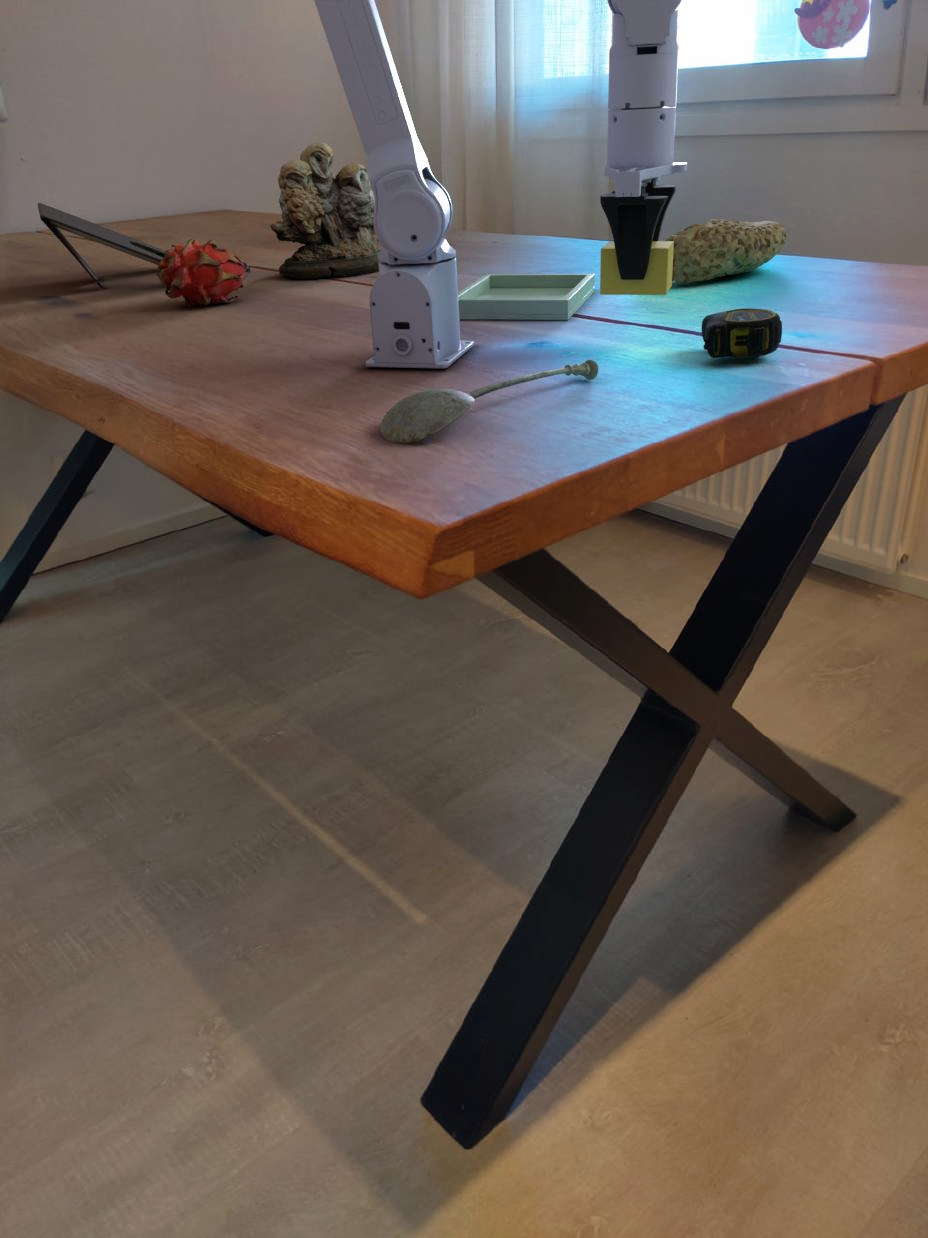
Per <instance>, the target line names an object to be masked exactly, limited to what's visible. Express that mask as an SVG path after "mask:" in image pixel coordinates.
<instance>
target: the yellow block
mask: <svg viewBox="0 0 928 1238" xmlns="http://www.w3.org/2000/svg"><path fill="white" fill-rule="evenodd" d="M673 249H674V241H660V240H659V241H652V247H651V253H650V259H649V264H648V268H647V272H646V275H645V278H644V280H621V277H620V274H619V269H618V264H617V257H616V251H615V245H614V241H608V242H607V243H606V244H604V245H603V246H602V247H601V248H600V269H599V270H600V271H599V273H600V274H599V275H600V276H599V294H600V296H605V295H606V296H622V295H623V296H667V295H668V293H669V291H670V289H671V288H672V287H673V281H672V270H673Z"/></svg>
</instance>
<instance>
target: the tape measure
mask: <svg viewBox="0 0 928 1238" xmlns="http://www.w3.org/2000/svg"><path fill="white" fill-rule="evenodd" d="M782 336H783V322H782V320H781V317H780V315H779V313H777V312H776V311H773V310H769V309H764V308H744V307H743V308H734V309H730V310H729V309H728V310H724V311H721V312H720V311H719V312H715V313H711V314H708V315H706V316H704V317H703V319H702V321H701V337H702V341H703V342H704V344H703V350H704V351H707V353H708V355H709V357H711V358H713V359H719V358H742V359H748V358H749V359H750V358H756V359H757V358H758V359H759V358H760V357H763V356H767V355H771V354H772V353H774V352H775V351H777V350H778V348H779V346H780V344H781V342H782Z"/></svg>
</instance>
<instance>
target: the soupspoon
mask: <svg viewBox="0 0 928 1238" xmlns="http://www.w3.org/2000/svg"><path fill="white" fill-rule="evenodd" d="M598 374H599V365H598V363H597V361H596V360H594V359H587V360H585V362H582V363H580V364H579V363H575V364H573V365H571V364H566V365H565V366H564V367H561V368H560V367H559V368H554V369H549V370H544V371H539V372H535V373H530V374H526V375H521V376H518V377H514V378H510V379H506V380H502V381H498V382H495V383H491V384H489V385H485V386H482V387H480V388H477V389H474V390H472V391H470V392H466V393H465V392H463V391H460V390H457V389H453V388H428V389H423V390H421V391H417V392H414V393H412V394H410V395H407V396H405V397H403V398H402V399H400V400H399V401H398V402H397V403H395V404H394V405H393V406H392V407H391V408H390V409H388V411H386V413H385V415H384V416H383V417H382V419H381V422H380V426H379V428H380V429H379V431H380V433H381V435H382V436H383V439H385V440H386V441H388V442H392V443H400V444H403V443H405V444H406V443H415V442H420V441H422V440H426V439H428V438H430V437H432V436H434V435H436V434H438V433H439V432H441V431H443V430H444V429H445V428H447V427H449V426H450V425H451V424H452V423H454V422H455V421H457V420H459V418H460V417H462V416H463V415H464V414H465V413H467V411H469V409H470V408H471V407H472V406H473V405H474V403H475V401H476V399H478V398H480V397H483V396H484V395H487V394H490V393H492V392H496V391H498V390H502V389H505V388H509V387H512V386H517V385H520V384H524V383H528V382H532V381H535V380H540V379H544V378H548V377H552V376H558V375H565V376H567V377H570V376H571V375H573V376H577V377H578V376H582V377H583V378H584V379H586V380H587V381H592V380H594V379H596V378H597V376H598Z"/></svg>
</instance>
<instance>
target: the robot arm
mask: <svg viewBox="0 0 928 1238" xmlns="http://www.w3.org/2000/svg"><path fill="white" fill-rule="evenodd" d="M313 1H314V5H315V7H316V10H317V13H318V16H319V19H320V22H321V25H322V28H323V32H324V34H325V37H326V40H327V43H328V47H329V49H330V53H331V55H332V57H333V61H334V64H335V66H336V70H337V73H338V76H339V79H340V81H341V84H342V87H343V90H344V93H345V97H346V100H347V102H348V105H349V108H350V111H351V115H352V118H353V120H354V124H355V126H356V130H357V133H358V136H359V138H360V141H361V144H362V148H363V151H364V153H365V156H366V157H365V158H366V165H367V166H366V167H367V171H368V175H369V182H370V185H371V188H372V191H373V194H374V200H375V209H374V217H373V224H374V230H375V233H376V236H377V238H378V240H379V241H378V243H379V244H380V245H381V246H382V248H383V249H380V250H381V251H379V253H378V260H379V262H378V266H379V271H378V277H377V279H376V280H375V281H374V283H373V284H372V287H371V289H370V293H369V300H368V301H369V302H368V303H369V314H370V326H371V337H372V346H373V348H372V349H373V356H372V357H370V358H369V359H367V360H366V361H365V363H364V364H365V367H367V368H395V369H396V368H401V369H438V370H439V369H447V368H449V367H450V366H451V365H453V364H454V363H455V362H457V360H458V359H459V358H461V357H462V356H463V355H464V354H466V352H468V351H469V350H470V349H471V348H472V347H474V345H475V343H474V342H475V341H473V340H461V326H460V319H459V304H458V292H459V286H458V266H457V265H458V264H457V250H456V249H455V248H453V247H452V246H451V245H450V244H449V243H448V241H447V239H446V238H445V237H444V236H445V235H446V234H447V232H448V231H449V229H450V226H451V224H452V219H453V204H452V199H451V197H450V195H449V193H448V191H447V190H446V188H445V187H444V186H443V184H441V183H440V182H439V181H438V180H437V178H436V177H435V176H434V174H433V172H432V169H431V167H430V164H429V161H428V157H427V156H426V153H425V151H424V149H423V146H422V144H421V142H420V140H419V138H418V136H417V132H416V128H415V126H414V123H413V120H412V116H411V112H410V110H409V107H408V104H407V100H406V97H405V94H404V90H403V88H402V87H403V86H402V84H401V82H400V77H399V75H398V71H397V69H396V64H395V62H394V57H393V55H392V52H391V49H390V45H389V43H388V39H387V36H386V33H385V30H384V27H383V24H382V20H381V17H380V14H379V11H378V8H377V5H376V1H375V0H313ZM606 1H607V4H608V7H609V9H610V11H611V13H612V36H611V37H612V41H611V42H612V43H611V46H610V48H609V50H608V95H607V97H608V105H607V106H608V107H607V109H608V110H607V146H606V147H607V148H606V149H607V153H606V154H607V155H606V157H607V158H606V159H607V161H606V165H605V166H604V176H605V177H607V178H609V179H612V180H614V181H615V185H614V186H615V188H614V190H612V191H611V193H603V194H601V195H600V196H599V197H600V198H599V202H600V206H601V208H602V210H603V213H604V214H605V217H606V219H607V222H608V224H609V227H610V231H611V235H612V239H613V242H614V245H615V251H616V257H617V264H618V269H619V274H620V277H621V280H644V278H645V275H646V272H647V268H648V264H649V259H650V253H651V247H652V241H660V236H661V231H662V226H663V224H664V223H663V222H664V219H665V217H666V213H667V211H668V208H669V206H670V204H671V201H672V200H673V197H674V195H675V193H676V191H677V186H676V184H657V182H658V183H659V182H661V178H662V177H666V176H670V175H671V176H672V175H674V174H679V173H680V174H681V173H686V172H687V171H688V162H674V160H675V158H674V156H675V139H676V137H675V135H676V117H677V116H676V114H677V113H676V112H677V96H678V95H677V93H678V74H679V73H678V71H679V70H678V69H679V51H680V47H679V46H680V45H679V43H678V33H679V28H680V20H679V10H678V9H677V8H678V7H679V6H680V4H681V2H682V1H683V0H606Z"/></svg>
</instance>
